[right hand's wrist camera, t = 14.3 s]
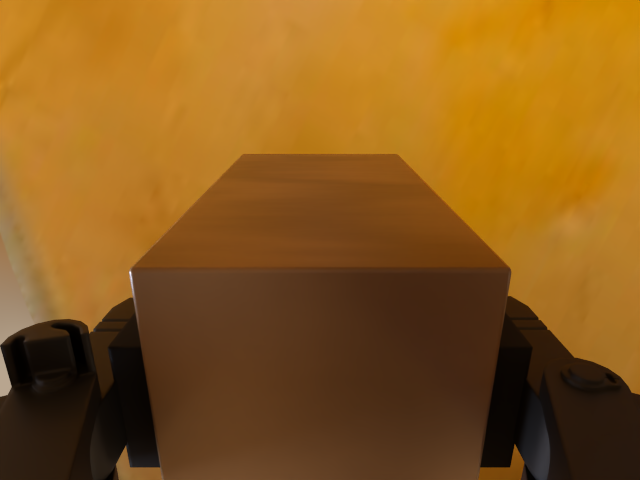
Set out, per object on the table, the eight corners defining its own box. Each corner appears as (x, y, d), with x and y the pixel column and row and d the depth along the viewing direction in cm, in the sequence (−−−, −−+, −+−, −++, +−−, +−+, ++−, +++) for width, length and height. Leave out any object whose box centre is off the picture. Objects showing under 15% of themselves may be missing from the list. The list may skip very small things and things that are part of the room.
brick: (250, 298, 19) (171, 550, 9) (242, 153, 17) (125, 269, 7) (389, 298, 19) (468, 551, 9) (398, 154, 17) (514, 268, 7)
